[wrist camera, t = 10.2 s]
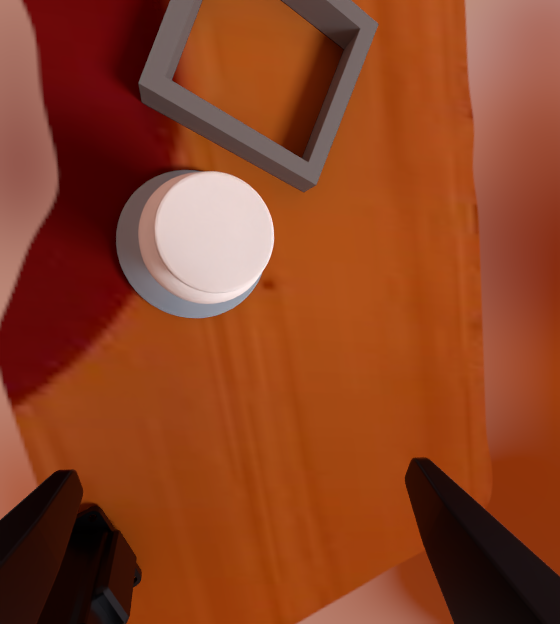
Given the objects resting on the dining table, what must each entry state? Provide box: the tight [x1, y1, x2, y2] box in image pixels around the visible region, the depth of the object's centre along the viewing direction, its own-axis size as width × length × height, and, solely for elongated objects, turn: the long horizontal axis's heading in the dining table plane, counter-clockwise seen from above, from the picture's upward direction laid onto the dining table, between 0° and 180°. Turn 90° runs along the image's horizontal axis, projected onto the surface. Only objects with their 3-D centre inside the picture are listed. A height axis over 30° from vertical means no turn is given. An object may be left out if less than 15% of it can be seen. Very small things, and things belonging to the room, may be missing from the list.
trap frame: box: [138, 0, 378, 192], centre depth 19 cm, size 11×11×2 cm
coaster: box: [116, 170, 262, 318], centre depth 20 cm, size 9×9×1 cm
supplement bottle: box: [138, 171, 274, 304], centre depth 15 cm, size 5×5×10 cm
